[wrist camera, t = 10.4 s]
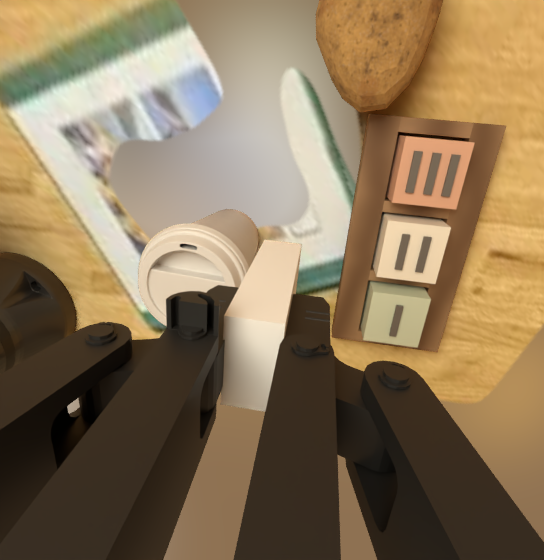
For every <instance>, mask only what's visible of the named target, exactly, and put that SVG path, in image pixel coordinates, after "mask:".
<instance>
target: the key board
mask: <svg viewBox="0 0 544 560" xmlns="http://www.w3.org/2000/svg"><path fill="white" fill-rule="evenodd" d="M505 129H506V126H503V125H491V124H480V123H469V122H457V121H446V120H435V119H424V118H412V117H401V116H390V115H378V114H368V118H367V124H366V130H365V136H364V142H363V148H362V153H361V159H360V165H359V171H358V177H357V183H356V189H355V195H354V201H353V207H352V213H351V219H350V224H349V230H348V236H347V242H346V248H345V254H344V260H343V266H342V272H341V278H340V284H339V289H338V295H337V301H336V307H335V313H334V319H333V325H332V337H334V338H341V339H348V340H355V341H362V342H369V343H376V344H383V345H390V346H397V347H405V348H412V349H419V350H426V351H433V352H438V349H439V345H440V342H441V339H442V335H443V332H444V329H445V326H446V322H447V319H448V316H449V312H450V309H451V306H452V303H453V299H454V296H455V293H456V289H457V286H458V283H459V280H460V276H461V273H462V270H463V266H464V263H465V260H466V257H467V253H468V250H469V247H470V243H471V240H472V237H473V234H474V230H475V227H476V224H477V221H478V217H479V214H480V211H481V207H482V204H483V201H484V198H485V194H486V191H487V188H488V184H489V181H490V178H491V175H492V171H493V168H494V165H495V161H496V158H497V155H498V152H499V148H500V145H501V142H502V138H503V135H504V132H505ZM398 132H406V133H417V134H428V135H439V136H450V137H461V138H462V141H465V142H473V143H475V144H474V147H473V151H472V154H471V158H470V162H469V165H468V169H467V172H466V176H465V180H464V183H463V187H462V190H461V194H460V198H459V201H458V205H457V208H456V210H455V209H446V208H437V207H428V206H418V205H409V204H400V203H392V202H391V201H390V200H389V199H388V198H385V195H386V190H387V185H388V180H389V175H390V170H391V165H392V160H393V155H394V151H395V146H396V141H397V136H398ZM382 212H390V213H399V214H408V215H417V216H426V217H435V218H441V220H443V221H444V222H445V223H446V224H447V225H449V226H450V227H451V230H450V234H449V237H448V241H447V244H446V248H445V251H444V255H443V259H442V262H441V266H440V269H439V273H438V277H437V280H436V284H430V283H423V282H415V281H407V280H399V279H391V278H383V277H376V274H375V271H374V268H373V265H372V260H373V255H374V250H375V245H376V240H377V235H378V230H379V225H380V220H381V215H382ZM368 280H372V281H380V282H388V283H396V284H404V285H412V286H419V287H424V288H425V290H426V292H427V293H428V295H429V297H430V298H431V301H430V305H429V309H428V312H427V316H426V319H425V323H424V327H423V330H422V334H421V337H420V341H419V345H418V348H416V347H409V346H402V345H395V344H388V343H381V342H374V341H366V340H363V336H362V331H361V325H360V319H361V314H362V309H363V304H364V300H365V295H366V290H367V285H368Z"/></svg>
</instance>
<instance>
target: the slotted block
mask: <svg viewBox="0 0 544 560" xmlns="http://www.w3.org/2000/svg"><path fill="white" fill-rule="evenodd" d="M430 301H431V298H430V297H429V295H428V293H427V292H426V290H425V288H424V287H419V286H412V285H404V284H396V283H388V282H380V281H372V280H368V285H367V290H366V295H365V300H364V305H363V310H362V315H361V320H360V325H361V331H362V336H363V340H366V341H374V342H381V343H388V344H395V345H402V346H409V347H416V348H418V345H419V341H420V337H421V334H422V330H423V327H424V323H425V319H426V316H427V312H428V309H429V305H430Z"/></svg>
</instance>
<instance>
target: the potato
mask: <svg viewBox="0 0 544 560" xmlns="http://www.w3.org/2000/svg"><path fill="white" fill-rule="evenodd" d="M442 1H443V0H319V4H318V8H317V12H316V40H317V42H318V45H319V48H320V50H321V53H322V56H323V58H324V61H325V64H326V66H327V69H328V71H329V74H330V77H331V79H332V81H333V83H334V85H335V87H336V88H337V90H338V92H339V93H340V95H341V97H342V99H344V100H345V101H346V102H347V103H349V104H350V105H351V106H353V107H354V108H355V109H356V110H358V111H359V112H367V111H374V110H381V109H386V108H387V107H388V106H389V105H390V104H391V103H392V102H393V101H394V100H395V99H396V98H397V97H398V96H399V95H400V94H401V93H402V92H403V91H404V90H405V89H406V88H407V87H408V86H409V84H410V82H411V80H412V79H413V77H414V75H415V73H416V71H417V70H418V68H419V66H420V64H421V62H422V60H423V57H424V55H425V52H426V50H427V47H428V45H429V42H430V40H431V37H432V34H433V32H434V29H435V26H436V23H437V20H438V17H439V14H440V10H441V6H442Z"/></svg>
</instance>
